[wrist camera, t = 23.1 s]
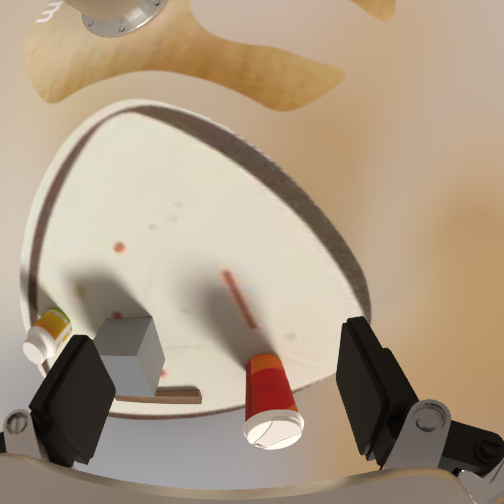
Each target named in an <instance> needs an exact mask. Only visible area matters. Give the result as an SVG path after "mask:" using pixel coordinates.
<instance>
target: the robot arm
mask: <svg viewBox="0 0 504 504" xmlns="http://www.w3.org/2000/svg"><path fill="white" fill-rule="evenodd" d="M62 1H64V2H66V3H67V4H69V5H71V6H72V7H74V8H75V9H77V10H79V11H80V12H82V20H83V23H84V25H85V27H86V28H87V29H88V30H89V31H90V32H91V33H93V34H95V35H96V36H100V37H103V38H117V37H122V36H126V35H129V34H131V33H134V32H136V31H138V30H139V29H141V28H143V27H144V26H146V25H147V24H148V23H150V22H151V21H152V20H153V19H154V18H155V17H156V16H157V15H158V14H159V13H160V12H161V10H162V9H163V8H164V6H165V4H166V2H167V0H62ZM157 5H158V6H157ZM123 30H124V31H123ZM336 382H337V386H338V388H339V392H340V395H341V397H342V401H343V404H344V406H345V410H346V413H347V416H348V419H349V422H350V425H351V428H352V431H353V434H354V437H355V441H356V443H357V447H358V450H359V453H360V454H361V455H365V456H366V459H367V461H370V460H374V459H376V462H377V464H378V465H380V468H379V470H378V471H373V472H368V473H364V474H359V475H353V476H348V477H344V478H338V479H333V480H327V481H321V482H315V483H308V484H300V485H293V486H284V487H274V488H260V489H238V490H209V489H208V490H207V489H187V488H173V487H162V486H154V485H147V484H140V483H134V482H127V481H121V480H116V479H112V478H106V477H102V476H98V475H93V474H90V473H86V472H81V471H78V470H76V469H75V467H74V464H73V463H74V461H76V462H79V463H83V464H87V465H88V462H89V460H90V459H91V458H92V457H93V456H94V453H95V450H96V447H97V444H98V441H99V438H100V435H101V432H102V429H103V427H104V424H105V421H106V418H107V416H108V413H109V410H110V407H111V405H112V402H113V400H114V397H115V394H116V388H115V385H114V383H113V381H112V379H111V377H110V375H109V374H108V372H107V370H106V368H105V366H104V363H103V361H102V359H101V357H100V355H99V353H98V351H97V349H96V347H95V344H94V342H93V340H92V339H90V338H89V337H88V336H87V335H73V336H72V337H71V339H70V340H69V342H68V343H67V345H66V346H65V348H64V349H63V351H62V352H61V354H60V355H59V357H58V359H57V360H56V362H55V363H54V365H53V366H52V368H51V370H50V371H49V373H48V374H47V376H46V378H45V379H44V381H43V382H42V384H41V386H40V387H39V389H38V391H37V393H36V395H35V396H34V398H33V399H32V401H31V403H30V405H29V408H30V409H31V410H32V411H31V413H29V412H28V411H26V410H24V409H18V410H15V411H13V412H11V413H10V414H9V415H8V416H7V417H6V419H5V421H4V424H3V430H4V431H3V432H1V433H0V504H473V502H472V500H474V501H475V502H477V503H478V504H504V441H503V439H502V438H501V437H500V436H499V435H498V434H496V433H493V432H490V431H486V430H483V429H480V428H476V427H473V426H469V425H466V424H462V423H459V422H456V421H453V420H451V414H450V411H449V409H448V408H447V407H446V406H445V405H444V404H443V403H441V402H439V401H436V400H431V399H427V400H422V401H419V399H418V397H417V396H416V394H415V392H414V390H413V388H412V387H411V385H410V383H409V381H408V379H407V378H406V376H405V374H404V373H403V371H402V369H401V367H400V366H399V364H398V362H397V361H396V359H395V357H394V355H393V354H392V352H391V351H390V350H389V349H388V348H382V346H381V345H380V342H379V341H378V339H377V337H376V336H375V334H374V332H373V331H372V329H371V327H370V325H369V324H368V322H367V320H366V319H365V317H364V316H360V317H353V318H348V319H347V323H343V324H342V330H341V339H340V348H339V356H338V364H337V371H336ZM469 494H470V495H472V496H473V497H472V500H471V498H470V496H469Z"/></svg>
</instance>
